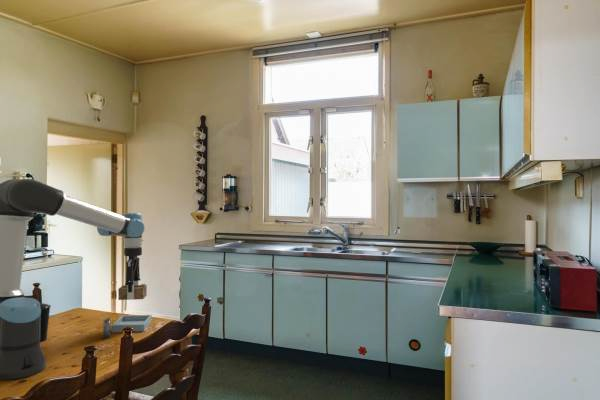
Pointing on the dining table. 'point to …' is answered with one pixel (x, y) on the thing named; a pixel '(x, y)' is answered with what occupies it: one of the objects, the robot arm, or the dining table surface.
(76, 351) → the dining table surface
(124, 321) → the tray
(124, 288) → the grey-brown rectangular block
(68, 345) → the dining table surface
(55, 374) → the dining table surface
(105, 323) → the stake
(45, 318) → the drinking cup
